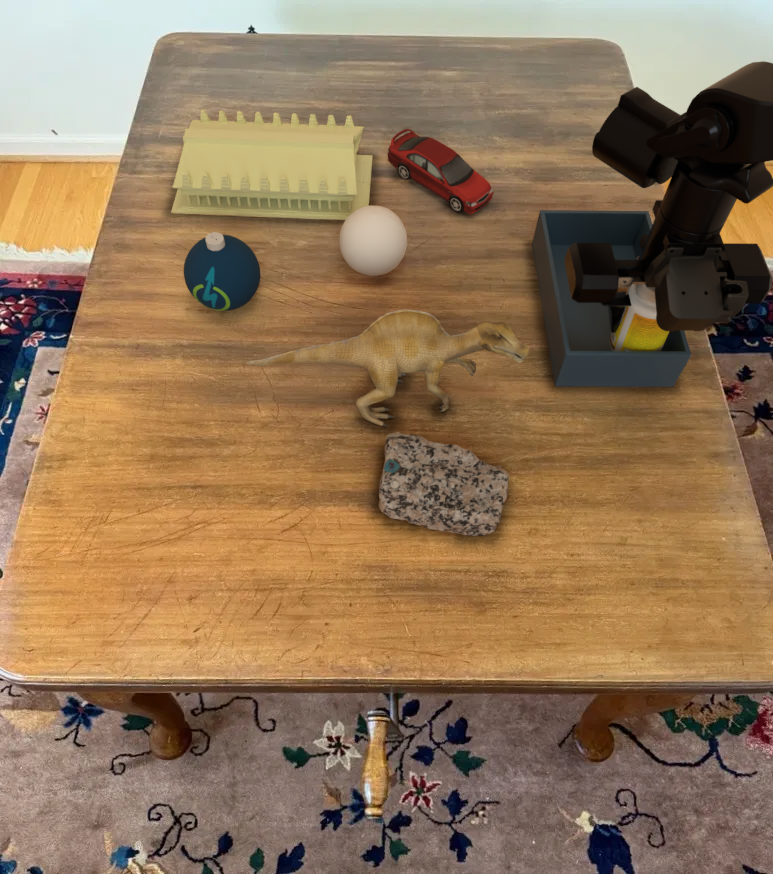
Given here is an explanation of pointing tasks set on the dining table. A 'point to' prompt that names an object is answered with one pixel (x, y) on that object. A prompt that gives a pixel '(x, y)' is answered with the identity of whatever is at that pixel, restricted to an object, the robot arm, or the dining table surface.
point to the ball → (373, 240)
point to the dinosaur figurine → (405, 354)
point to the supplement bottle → (639, 323)
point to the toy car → (439, 171)
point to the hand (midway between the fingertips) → (639, 329)
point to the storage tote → (595, 305)
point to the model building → (272, 168)
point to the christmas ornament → (222, 272)
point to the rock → (440, 486)
